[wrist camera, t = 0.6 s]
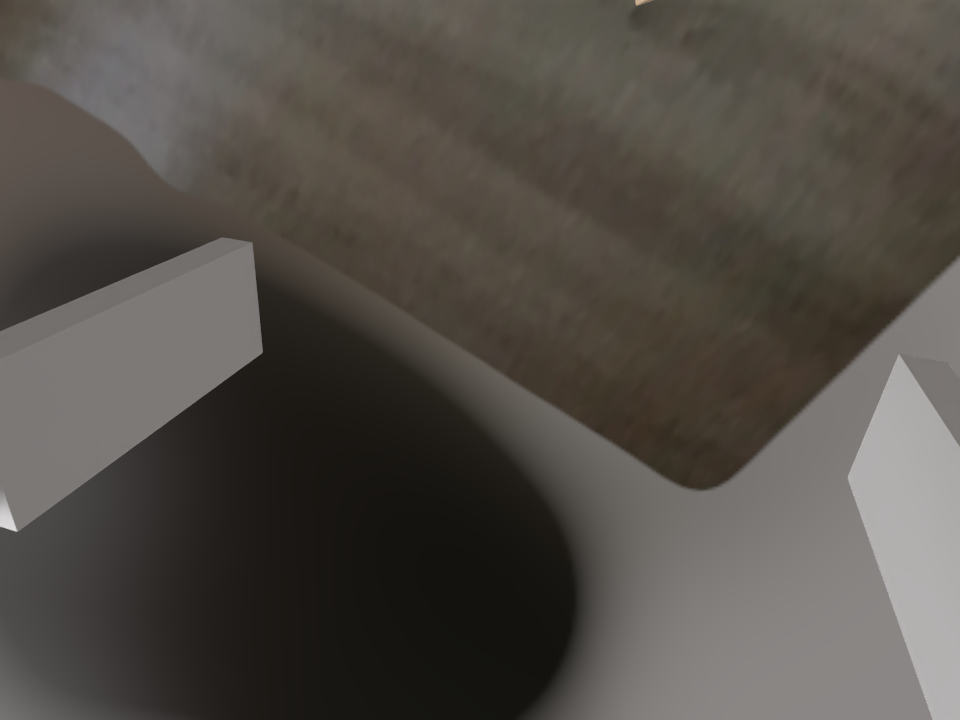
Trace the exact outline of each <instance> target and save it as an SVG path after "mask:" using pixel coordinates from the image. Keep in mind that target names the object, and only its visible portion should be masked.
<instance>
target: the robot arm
mask: <svg viewBox="0 0 960 720" xmlns="http://www.w3.org/2000/svg"><path fill="white" fill-rule="evenodd" d="M252 246H253V245H252V242H246V241H240V240H234V239H228V238H220V239H218V240H215V241H213V242H211V243H208V244H206V245H203V246H201V247H199V248H196V249H194V250H192V251H189V252H187V253H185V254H182V255H180V256H178V257H175V258H173V259H170V260H168V261H166V262H163V263H161V264H158V265H156V266H154V267H151V268H149V269H147V270H144V271H142V272H140V273H137V274H135V275H133V276H130V277H128V278H126V279H123V280H121V281H118V282H116V283H114V284H111V285H109V286H107V287H104V288H102V289H100V290H97V291H95V292H92V293H90V294H88V295H86V296H83V297H81V298H78V299H76V300H73V301H71V302H69V303H67V304H64V305H62V306H59V307H57V308H55V309H52V310H50V311H48V312H45V313H43V314H40V315H38V316H36V317H33V318H31V319H29V320H26V321H24V322H21V323H19V324H17V325H14V326H12V327H10V328H8V329H5V330H3V331H0V527H4V528H7V529H10V530H13V531H17V532H18V531H19V530H20V529H22V528H23V527H25V526H26V525H27V524H29V523H30V522H31V521H33V520H34V519H36V518H37V517H38V516H40V515H41V514H42V513H43V512H45V511H47V510H48V509H49V508H51V507H52V506H53V505H55V504H56V503H57V502H59V501H60V500H62V499H63V498H64V497H66V496H67V495H68V494H70V493H71V492H73V491H74V490H75V489H76V488H78V487H79V486H81V485H82V484H83V483H85V482H86V481H88V480H89V479H90V478H92V477H93V476H94V475H96V474H97V473H98V472H100V471H101V470H103V469H104V468H105V467H107V466H108V465H109V464H111V463H112V462H114V461H115V460H116V459H118V458H119V457H120V456H122V455H123V454H125V453H126V452H127V451H129V450H130V449H131V448H133V447H134V446H135V445H137V444H138V443H139V442H141V441H142V440H144V439H145V438H146V437H148V436H149V435H151V434H152V433H153V432H154V431H156V430H157V429H159V428H160V427H161V426H163V425H164V424H166V423H167V422H168V421H170V420H171V419H172V418H174V417H175V416H177V415H178V414H179V413H181V412H182V411H183V410H185V409H186V408H187V407H189V406H190V405H191V404H193V403H194V402H196V401H197V400H198V399H200V398H201V397H202V396H204V395H205V394H207V393H208V392H209V391H211V390H212V389H213V388H215V387H216V386H217V385H219V384H220V383H222V382H223V381H224V380H225V379H227V378H228V377H230V376H231V375H233V374H234V373H235V372H237V371H238V370H239V369H241V368H242V367H243V366H245V365H246V364H248V363H249V362H250V361H252V360H253V359H254V358H256V357H257V356H259V355H260V354H261V353H263V350H262V340H261V329H260V319H259V308H258V299H257V287H256V277H255V266H254V256H253V247H252ZM848 481H849V483H850V486H851V489H852V492H853V494H854V497H855V500H856V503H857V506H858V509H859V512H860V514H861V517H862V520H863V523H864V526H865V529H866V532H867V534H868V537H869V540H870V543H871V546H872V549H873V552H874V554H875V557H876V560H877V563H878V566H879V568H880V571H881V574H882V577H883V579H884V583H885V585H886V588H887V591H888V594H889V597H890V600H891V603H892V605H893V608H894V611H895V614H896V617H897V620H898V622H899V625H900V628H901V631H902V633H903V637H904V640H905V642H906V645H907V648H908V651H909V654H910V656H911V659H912V662H913V665H914V668H915V670H916V673H917V676H918V679H919V682H920V685H921V687H922V690H923V693H924V696H925V699H926V702H927V705H928V708H929V710H930V713H931V716H932V719H933V720H960V379H959V377H958V376H957V375H956V373H955V372H954V371H953V370H952V368H951V367H950V366H949V364H948V363H947V362H941V361H936V360H929V359H924V358H918V357H913V356H907V355H901V354H899V356H898V358H897V360H896V363H895V365H894V367H893V370H892V372H891V375H890V377H889V379H888V382H887V384H886V387H885V389H884V392H883V394H882V396H881V399H880V401H879V404H878V406H877V408H876V411H875V413H874V415H873V418H872V420H871V423H870V425H869V427H868V430H867V432H866V434H865V437H864V439H863V442H862V444H861V447H860V449H859V451H858V454H857V456H856V459H855V461H854V463H853V466H852V468H851V470H850V473H849V475H848Z"/></svg>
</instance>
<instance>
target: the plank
mask: <svg viewBox="0 0 960 720" xmlns="http://www.w3.org/2000/svg"><path fill="white" fill-rule="evenodd" d="M635 1H636V6H637V5H640V4H643V3H647V2H650V1H653V0H635Z"/></svg>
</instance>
